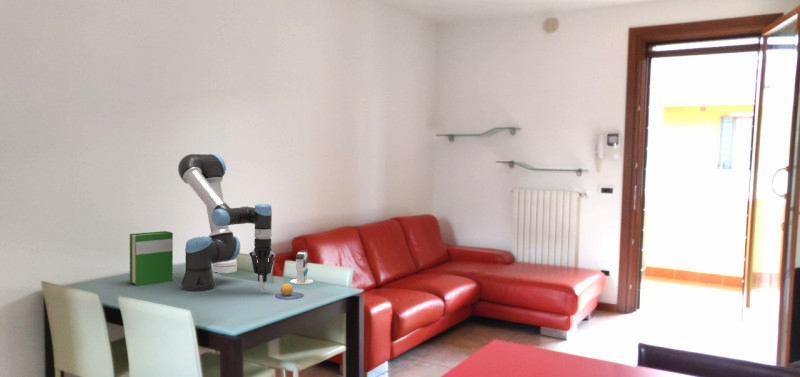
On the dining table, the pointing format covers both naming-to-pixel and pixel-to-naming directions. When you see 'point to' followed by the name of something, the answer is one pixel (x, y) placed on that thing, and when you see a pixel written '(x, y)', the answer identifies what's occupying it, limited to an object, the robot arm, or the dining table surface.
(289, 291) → the ball
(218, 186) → the robot arm
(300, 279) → the white stand device
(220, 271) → the honey pot
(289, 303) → the dining table surface
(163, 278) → the hardback book
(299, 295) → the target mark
